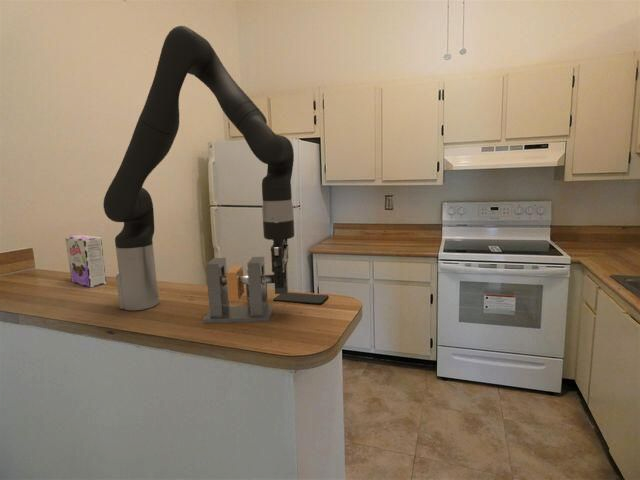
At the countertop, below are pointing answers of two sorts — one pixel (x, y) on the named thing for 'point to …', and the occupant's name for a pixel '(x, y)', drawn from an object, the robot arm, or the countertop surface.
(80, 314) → the countertop surface
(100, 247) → the candy box
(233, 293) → the spacer
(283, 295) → the smartphone
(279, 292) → the shaft
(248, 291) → the pill bottle
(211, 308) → the bearing bracket
